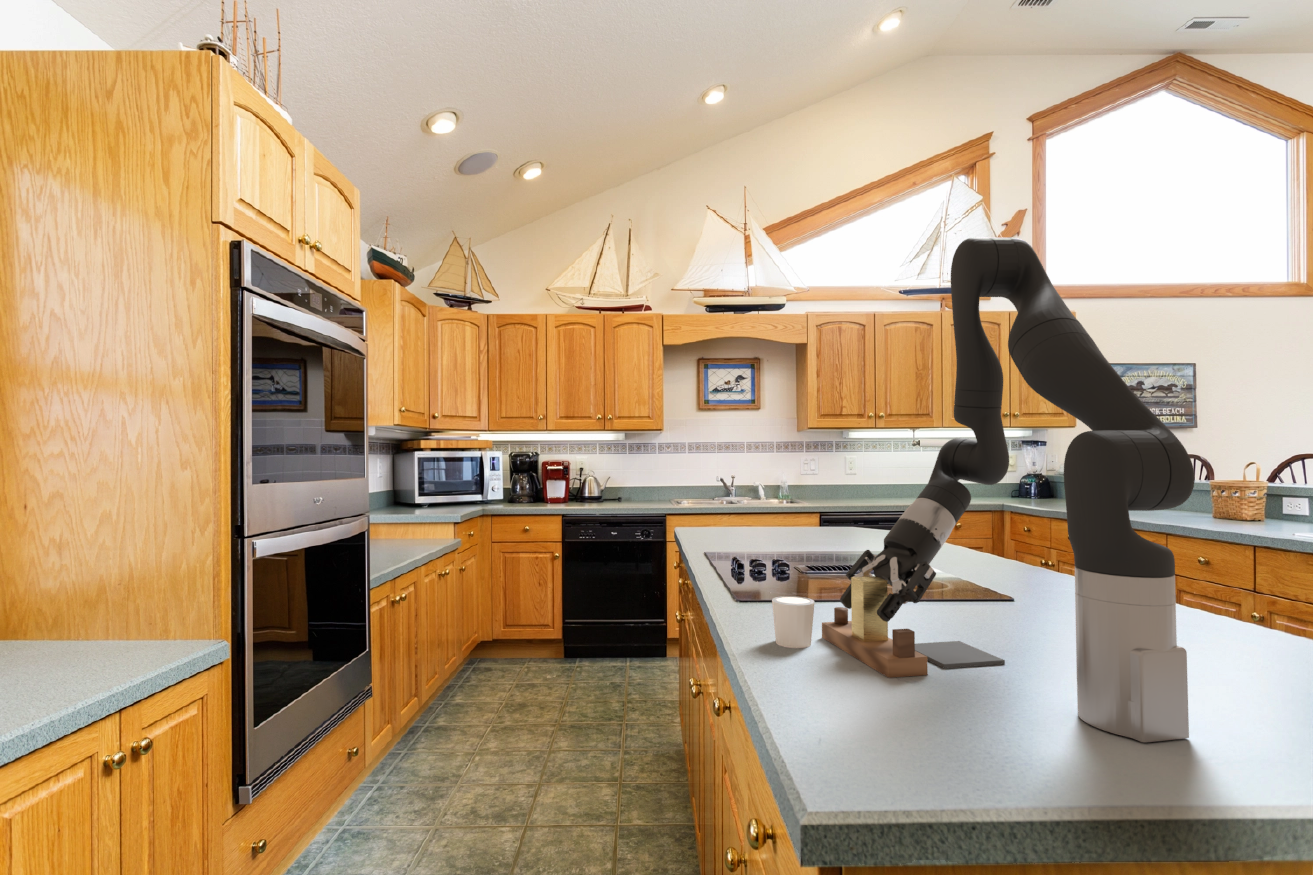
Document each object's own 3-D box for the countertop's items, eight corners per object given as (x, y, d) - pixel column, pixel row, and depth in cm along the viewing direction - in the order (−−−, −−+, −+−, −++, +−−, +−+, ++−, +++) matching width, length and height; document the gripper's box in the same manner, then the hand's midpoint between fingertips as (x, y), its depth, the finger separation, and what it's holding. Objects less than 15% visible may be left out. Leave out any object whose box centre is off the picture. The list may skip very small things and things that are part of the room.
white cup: (819, 649, 99) (819, 604, 100) (775, 649, 100) (775, 604, 100) (809, 637, 106) (809, 595, 106) (768, 636, 106) (768, 595, 107)
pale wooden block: (887, 640, 96) (887, 580, 96) (863, 641, 95) (863, 581, 95) (875, 634, 99) (874, 576, 99) (851, 635, 98) (851, 577, 99)
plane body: (927, 674, 88) (927, 631, 88) (888, 677, 86) (887, 633, 87) (854, 635, 107) (854, 599, 108) (821, 637, 106) (821, 601, 106)
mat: (1004, 664, 92) (1004, 660, 92) (943, 668, 90) (943, 664, 90) (959, 644, 102) (959, 640, 102) (903, 648, 100) (903, 644, 100)
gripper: (875, 513, 107) (819, 586, 102) (941, 521, 94) (880, 605, 89) (900, 543, 109) (846, 616, 104) (969, 555, 95) (910, 639, 91)
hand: (862, 611), depth 97 cm, fingers open, 8 cm apart
